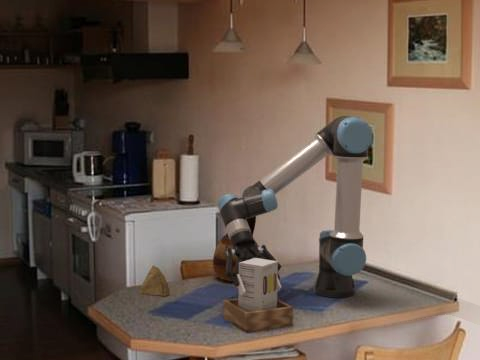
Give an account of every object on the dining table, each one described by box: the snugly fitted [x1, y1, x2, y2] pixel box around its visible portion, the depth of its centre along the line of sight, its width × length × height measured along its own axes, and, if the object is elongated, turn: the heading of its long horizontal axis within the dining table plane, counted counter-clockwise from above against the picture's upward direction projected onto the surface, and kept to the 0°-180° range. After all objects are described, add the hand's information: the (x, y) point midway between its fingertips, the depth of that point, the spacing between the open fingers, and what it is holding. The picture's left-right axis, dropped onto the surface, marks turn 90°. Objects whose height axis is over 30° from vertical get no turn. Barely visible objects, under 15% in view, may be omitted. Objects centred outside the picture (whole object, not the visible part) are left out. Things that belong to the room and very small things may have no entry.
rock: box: [139, 265, 170, 297], centre depth 293 cm, size 11×9×10 cm
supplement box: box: [237, 258, 279, 312], centre depth 259 cm, size 10×9×17 cm
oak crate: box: [222, 298, 294, 333], centre depth 261 cm, size 17×17×6 cm
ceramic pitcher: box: [212, 216, 263, 282], centre depth 316 cm, size 20×20×30 cm
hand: (261, 291), depth 258 cm, fingers closed on supplement box, 12 cm apart
